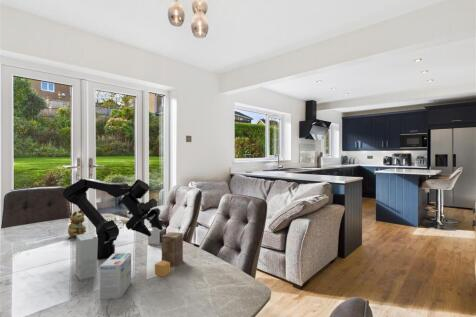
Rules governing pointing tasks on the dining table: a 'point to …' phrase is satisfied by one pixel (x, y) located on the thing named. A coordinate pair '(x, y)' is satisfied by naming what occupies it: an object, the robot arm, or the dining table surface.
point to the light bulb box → (115, 275)
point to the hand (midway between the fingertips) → (156, 232)
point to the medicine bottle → (156, 234)
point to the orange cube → (162, 268)
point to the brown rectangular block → (172, 248)
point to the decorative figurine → (76, 224)
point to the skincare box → (86, 256)
